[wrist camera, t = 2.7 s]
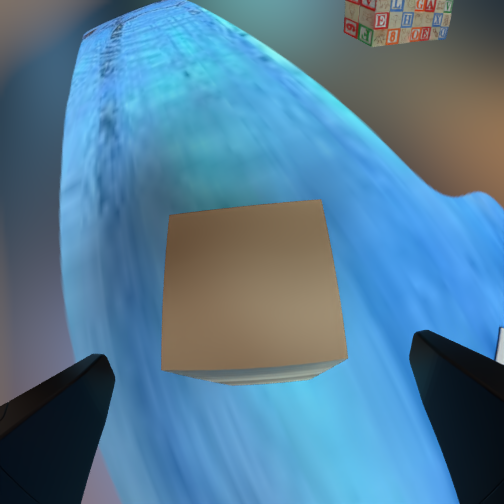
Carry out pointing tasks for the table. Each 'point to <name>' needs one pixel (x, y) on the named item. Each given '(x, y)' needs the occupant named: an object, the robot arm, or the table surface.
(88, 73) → the table surface
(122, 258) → the table surface
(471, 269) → the table surface
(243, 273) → the beech pillar
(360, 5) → the stack of blocks
